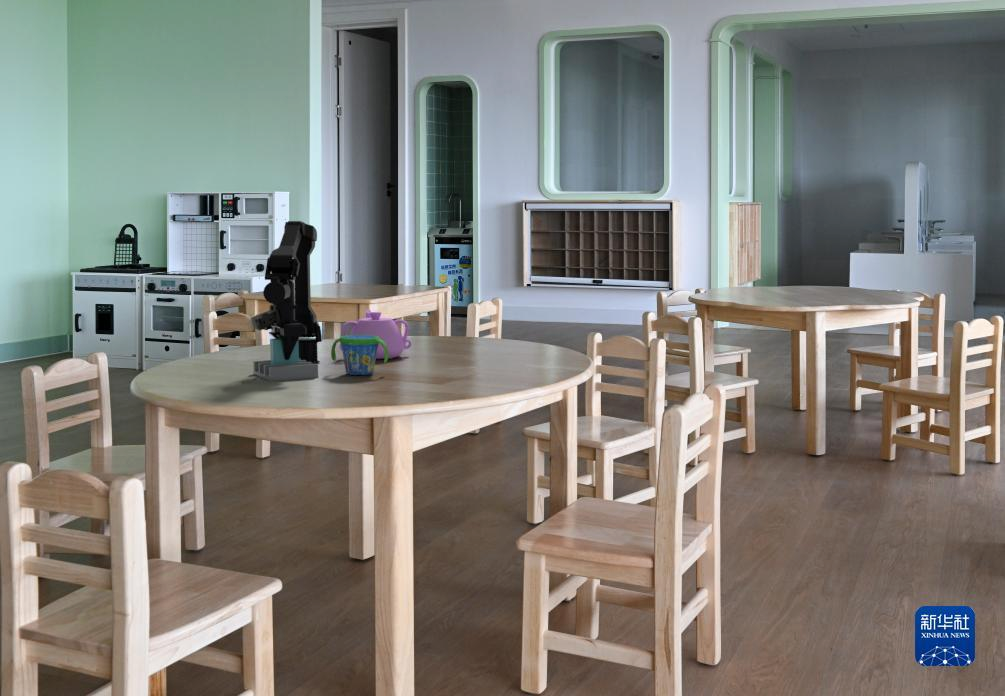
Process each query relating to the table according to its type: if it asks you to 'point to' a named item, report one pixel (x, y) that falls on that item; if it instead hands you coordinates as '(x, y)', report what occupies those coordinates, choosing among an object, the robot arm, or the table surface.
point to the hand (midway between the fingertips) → (285, 359)
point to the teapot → (381, 333)
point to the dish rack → (285, 370)
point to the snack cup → (359, 353)
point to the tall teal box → (278, 354)
